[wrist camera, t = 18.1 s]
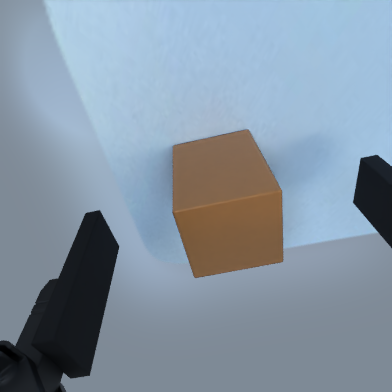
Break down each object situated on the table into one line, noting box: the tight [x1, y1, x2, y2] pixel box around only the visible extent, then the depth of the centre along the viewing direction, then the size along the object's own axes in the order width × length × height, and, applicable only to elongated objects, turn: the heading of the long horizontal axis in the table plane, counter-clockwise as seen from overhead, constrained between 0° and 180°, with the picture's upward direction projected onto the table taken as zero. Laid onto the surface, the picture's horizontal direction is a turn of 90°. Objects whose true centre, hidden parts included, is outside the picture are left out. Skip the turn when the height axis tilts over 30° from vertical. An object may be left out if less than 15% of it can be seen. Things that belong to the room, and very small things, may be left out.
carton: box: [173, 130, 283, 278], centre depth 14 cm, size 4×4×6 cm
